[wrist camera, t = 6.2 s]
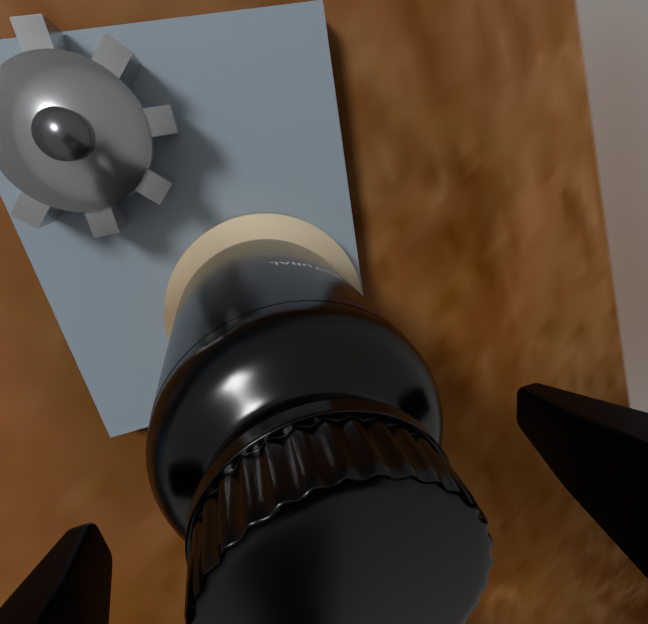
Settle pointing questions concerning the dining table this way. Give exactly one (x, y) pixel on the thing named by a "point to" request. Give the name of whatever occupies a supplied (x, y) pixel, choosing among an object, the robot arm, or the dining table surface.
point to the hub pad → (246, 230)
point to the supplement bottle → (307, 454)
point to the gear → (77, 130)
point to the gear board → (193, 181)
